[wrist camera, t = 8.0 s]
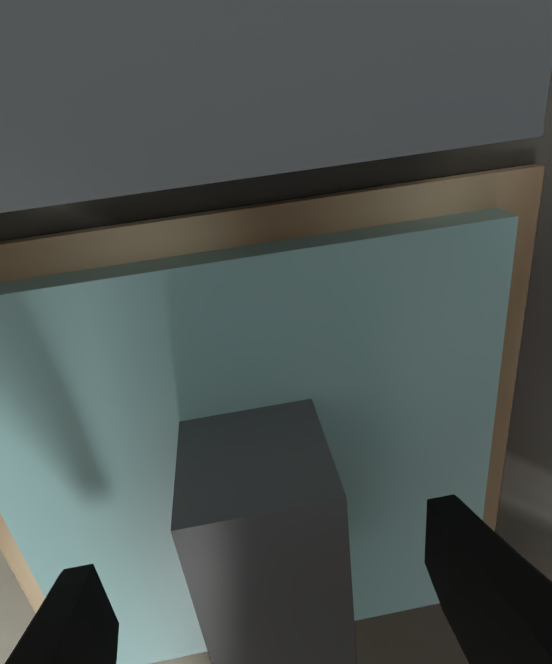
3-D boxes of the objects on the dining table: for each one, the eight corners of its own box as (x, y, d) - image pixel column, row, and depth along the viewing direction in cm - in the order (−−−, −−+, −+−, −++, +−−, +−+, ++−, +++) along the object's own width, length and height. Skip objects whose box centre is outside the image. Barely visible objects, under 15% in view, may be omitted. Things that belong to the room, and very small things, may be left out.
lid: (496, 207, 10) (641, 262, 7) (461, 573, 16) (532, 705, 12) (-83, 295, 9) (-245, 406, 6) (92, 648, 15) (59, 811, 11)
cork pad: (536, 163, 10) (544, 165, 10) (482, 584, 17) (486, 591, 16) (-147, 262, 9) (-157, 267, 9) (74, 668, 16) (71, 678, 15)
